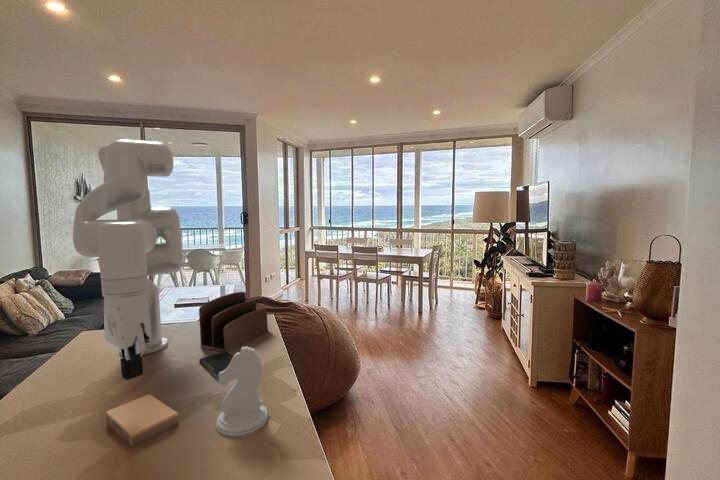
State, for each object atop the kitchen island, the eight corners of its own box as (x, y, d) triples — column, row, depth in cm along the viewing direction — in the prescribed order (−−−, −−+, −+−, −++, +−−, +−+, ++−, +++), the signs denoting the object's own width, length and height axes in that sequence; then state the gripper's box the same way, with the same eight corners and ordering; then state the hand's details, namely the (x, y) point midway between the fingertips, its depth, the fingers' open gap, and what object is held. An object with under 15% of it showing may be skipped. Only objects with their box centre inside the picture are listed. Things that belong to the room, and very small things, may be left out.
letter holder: (200, 348, 108) (197, 303, 106) (245, 327, 126) (243, 288, 124) (225, 353, 104) (223, 306, 102) (268, 331, 122) (266, 290, 120)
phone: (226, 351, 103) (248, 368, 92) (226, 354, 103) (248, 372, 92) (197, 359, 98) (217, 378, 87) (197, 363, 98) (217, 382, 87)
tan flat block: (105, 411, 70) (132, 434, 63) (149, 394, 77) (177, 412, 70) (107, 425, 70) (133, 450, 63) (150, 407, 77) (178, 427, 70)
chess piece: (222, 409, 75) (218, 340, 74) (270, 404, 77) (267, 336, 75) (210, 439, 65) (205, 360, 64) (265, 433, 67) (262, 356, 65)
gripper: (87, 284, 70) (96, 373, 72) (120, 294, 62) (128, 396, 63) (129, 278, 76) (136, 360, 78) (164, 286, 68) (171, 379, 69)
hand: (132, 376), depth 71 cm, fingers closed
